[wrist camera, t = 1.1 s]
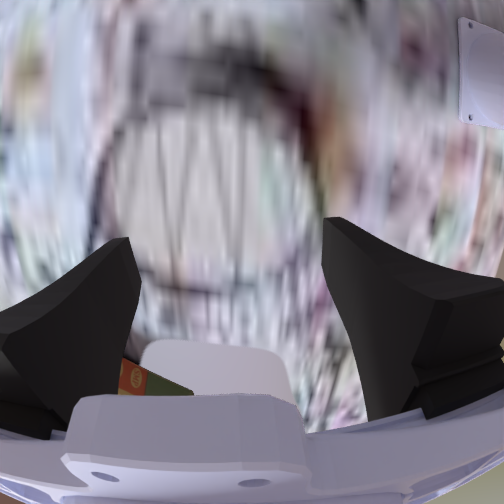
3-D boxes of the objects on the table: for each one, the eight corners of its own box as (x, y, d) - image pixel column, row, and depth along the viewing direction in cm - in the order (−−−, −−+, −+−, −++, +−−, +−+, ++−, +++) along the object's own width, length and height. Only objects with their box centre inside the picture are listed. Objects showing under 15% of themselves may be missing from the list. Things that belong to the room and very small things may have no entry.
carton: (53, 312, 23) (35, 348, 20) (197, 390, 30) (196, 426, 26) (32, 352, 26) (18, 384, 22) (155, 416, 33) (152, 447, 29)
